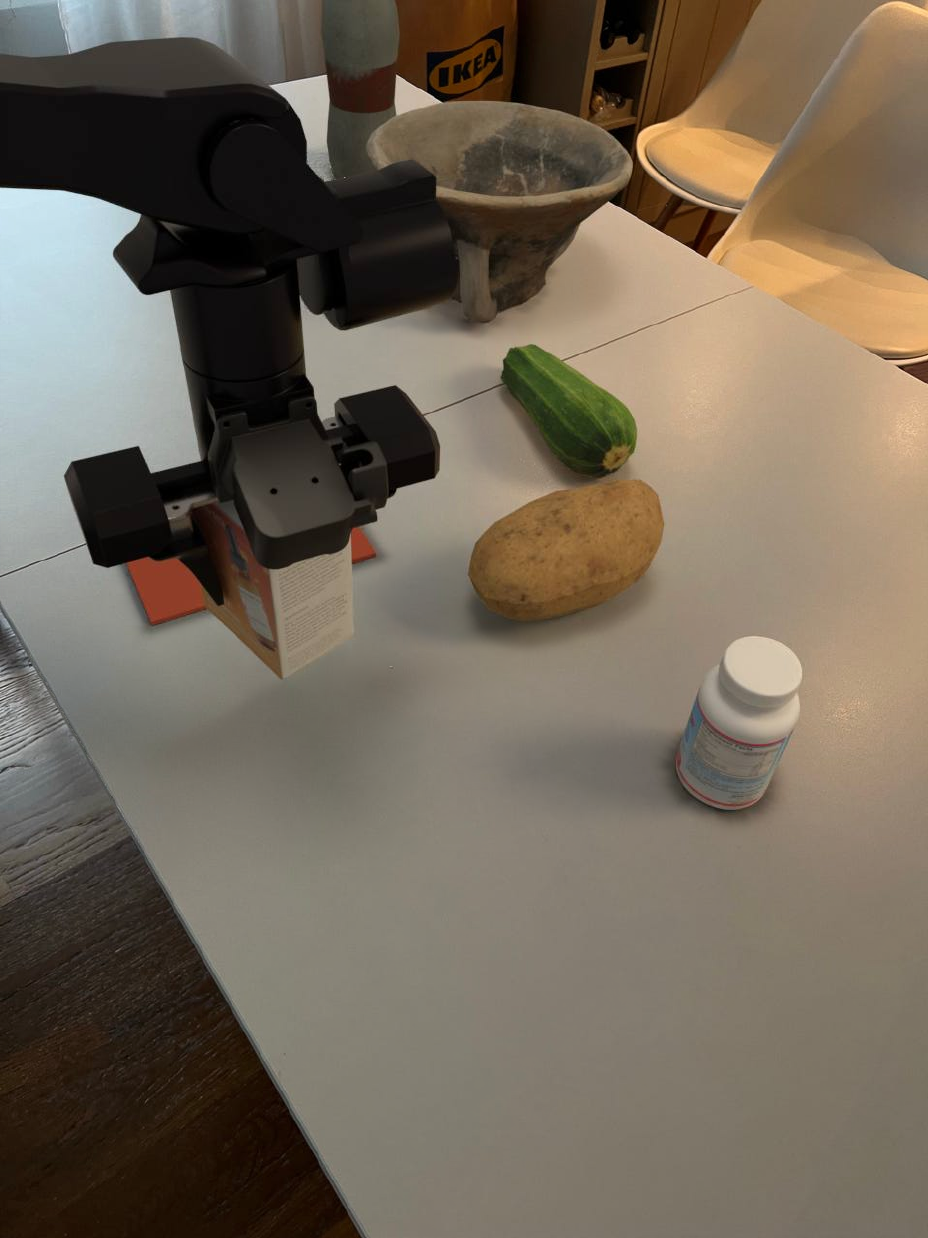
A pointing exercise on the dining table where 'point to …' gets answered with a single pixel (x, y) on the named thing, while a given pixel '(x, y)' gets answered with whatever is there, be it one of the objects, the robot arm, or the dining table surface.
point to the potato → (568, 550)
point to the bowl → (506, 188)
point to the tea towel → (194, 582)
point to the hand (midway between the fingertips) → (274, 584)
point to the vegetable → (571, 412)
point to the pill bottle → (740, 723)
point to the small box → (277, 595)
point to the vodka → (358, 77)
